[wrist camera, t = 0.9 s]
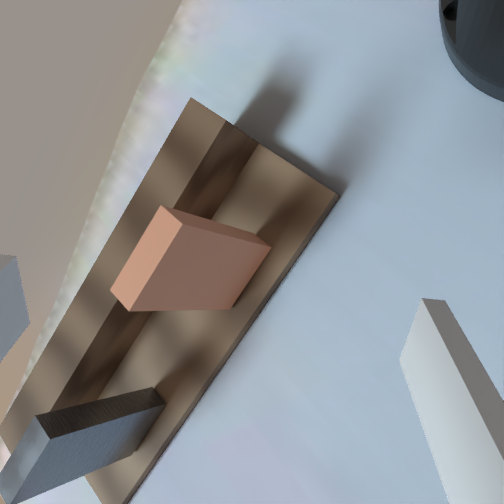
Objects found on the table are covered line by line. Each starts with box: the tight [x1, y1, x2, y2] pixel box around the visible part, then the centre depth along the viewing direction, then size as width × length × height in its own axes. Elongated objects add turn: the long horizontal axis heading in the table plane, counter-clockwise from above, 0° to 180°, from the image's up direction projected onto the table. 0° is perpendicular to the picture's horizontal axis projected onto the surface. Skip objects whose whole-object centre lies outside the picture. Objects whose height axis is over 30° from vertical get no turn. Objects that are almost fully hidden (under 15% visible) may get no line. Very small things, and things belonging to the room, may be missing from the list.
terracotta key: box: [110, 205, 272, 311], centre depth 29 cm, size 6×2×11 cm, turn 142°
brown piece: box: [0, 98, 340, 504], centre depth 36 cm, size 34×12×6 cm, turn 141°
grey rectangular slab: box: [0, 387, 166, 504], centre depth 32 cm, size 6×2×11 cm, turn 142°
